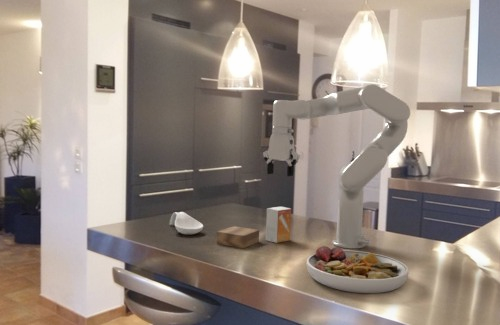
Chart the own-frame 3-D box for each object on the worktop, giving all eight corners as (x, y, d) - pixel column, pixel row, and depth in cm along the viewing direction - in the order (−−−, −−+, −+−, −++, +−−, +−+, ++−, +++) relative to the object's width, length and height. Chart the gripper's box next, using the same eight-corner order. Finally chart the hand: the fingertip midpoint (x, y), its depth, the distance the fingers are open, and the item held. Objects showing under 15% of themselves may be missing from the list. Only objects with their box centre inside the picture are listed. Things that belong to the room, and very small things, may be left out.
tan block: (258, 242, 184) (259, 230, 184) (243, 249, 174) (243, 235, 173) (232, 238, 190) (233, 226, 190) (216, 244, 180) (216, 231, 179)
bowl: (423, 280, 143) (425, 255, 143) (378, 306, 121) (380, 276, 120) (338, 259, 163) (339, 237, 163) (286, 278, 141) (287, 253, 140)
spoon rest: (207, 235, 193) (208, 218, 193) (181, 238, 187) (181, 220, 187) (185, 224, 214) (185, 208, 213) (160, 226, 208) (161, 210, 207)
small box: (276, 243, 182) (277, 210, 181) (265, 240, 187) (266, 208, 186) (290, 240, 188) (291, 208, 187) (278, 237, 192) (280, 206, 191)
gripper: (305, 132, 182) (303, 176, 183) (270, 131, 192) (268, 172, 194) (294, 132, 176) (292, 177, 177) (258, 130, 187) (257, 173, 188)
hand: (280, 174), depth 185 cm, fingers open, 9 cm apart
